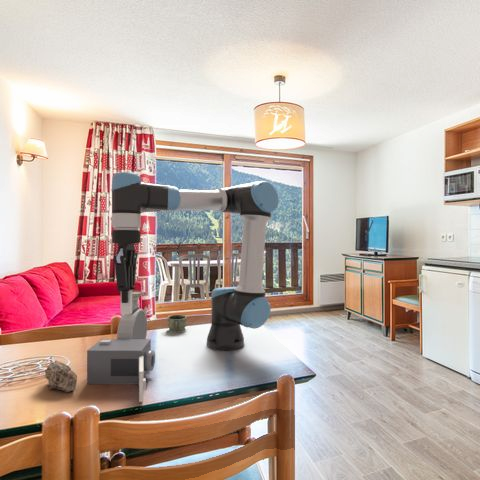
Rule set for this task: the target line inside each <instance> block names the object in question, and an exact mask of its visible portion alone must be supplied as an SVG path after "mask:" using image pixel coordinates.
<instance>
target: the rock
mask: <svg viewBox="0 0 480 480" xmlns="http://www.w3.org/2000/svg"><path fill="white" fill-rule="evenodd" d="M44 373H45V377H44V378H45V379H46V380H47V381H48V385H47V388H48V389H51V390H58V391H62V392H64V393H69V392H71V391H73V392H74V391H76V387H77V383H78V374H77V373H76V372H74V371H73V370H72V369H71V367H70V366H69V365H67V364H65V363H62V362H61V361H58V360H54V361H51V363H49V365H48V366H47V367H46V369H45V370H44Z"/></svg>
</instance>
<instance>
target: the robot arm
mask: <svg viewBox="0 0 480 480" xmlns="http://www.w3.org/2000/svg"><path fill="white" fill-rule="evenodd" d="M110 190H111V210H112V211H111V217H110V218H109V219H110V221H111V227H112V228H113V230H111V243H112V244H115V245H116V244H117V251H116V255H114V256H113V257H112V258H113V262H114V269H115V280H116V287H117V288H116V291H117V292H120V315H123V314H131V313H132V291H133V290H136V286H135V285H136V276H137V275H136V274H137V261H138V256H139V253H138V252H136V249H135V244H140V243H142V242H141V240H142V239H141V238H142V237H141V235H142V232H141V231H140V229H141V228H142V225H141V219H142V217H141V214H142V213H143V214H144V213H155V212H186V211H187V212H188V211H189V212H190V211H216V212H217V213H230V214H239V217H240V218H241V220H242V221H243V226H242V236H241V238H242V239H241V240H242V241H241V251H240V265H239V275H238V279H239V280H238V285H237V286H224V287H216V288H214V289H213V290H212V291H211V298H210V299H211V316H210V317H211V318H210V319H211V323H210V324H211V325H210V328H209V331H208V334H207V336H206V338H207V339H206V345H207V347H208V348H210V349H213V350H219V351H233V350H237V349H240V348H242V347H243V346H244V345H245V337H244V334H243V331H242V328H241V326H243V327H244V328H249V329H259V328H261V327H262V326H263V325H265V323H266V322H267V321H268V319H269V317H270V315H271V307H272V306H271V303H270V302H269V299H267V298H266V290H265V289H264V288H263V284H262V283H263V273H264V260H265V259H264V257H265V247H266V246H265V245H266V244H265V243H266V232H267V223H268V222H269V221H270V220H271V217H272V213H273V212H274V211H276V209H277V208H278V205H279V194H278V191H277V189H276V188H275V185H273V184H272V183H270V182H269V181H266V180H257V181H254V182H249V183H242V184H237V185H233V186H230V187H217V188H215V190H209V189H208V190H205V189H204V190H199V189H193V190H192V189H180V188H178V187H176V186H172V185H169V184H166V185H165V184H157V183H146V182H142V179H141V175H140V174H138V173H134V172H129V171H128V172H127V171H126V172H125V171H123V172H122V171H121V172H119V171H118V172H116V173H114V174H113V175H112V179H111V189H110Z"/></svg>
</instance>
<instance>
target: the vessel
mask: <svg viewBox="0 0 480 480" xmlns="http://www.w3.org/2000/svg"><path fill="white" fill-rule="evenodd" d="M187 324H188V323H187V315H184V314H171V315H168V316H167V324H166V325H167V327H168V328H169V329H168V332H170V333H175V334H177V333H182V332H183V333H184V332H185V331H186V327H187Z"/></svg>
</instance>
